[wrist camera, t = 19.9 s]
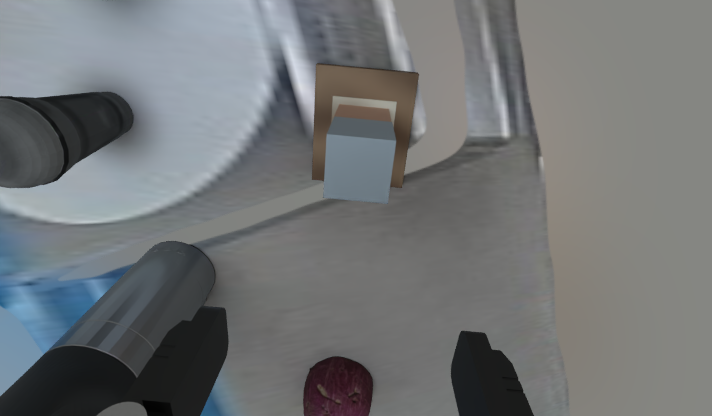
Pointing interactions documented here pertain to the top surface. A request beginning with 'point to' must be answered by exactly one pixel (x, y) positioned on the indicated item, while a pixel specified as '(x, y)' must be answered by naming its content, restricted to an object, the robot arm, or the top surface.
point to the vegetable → (338, 389)
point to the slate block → (359, 160)
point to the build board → (369, 92)
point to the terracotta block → (363, 112)
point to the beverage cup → (55, 134)
